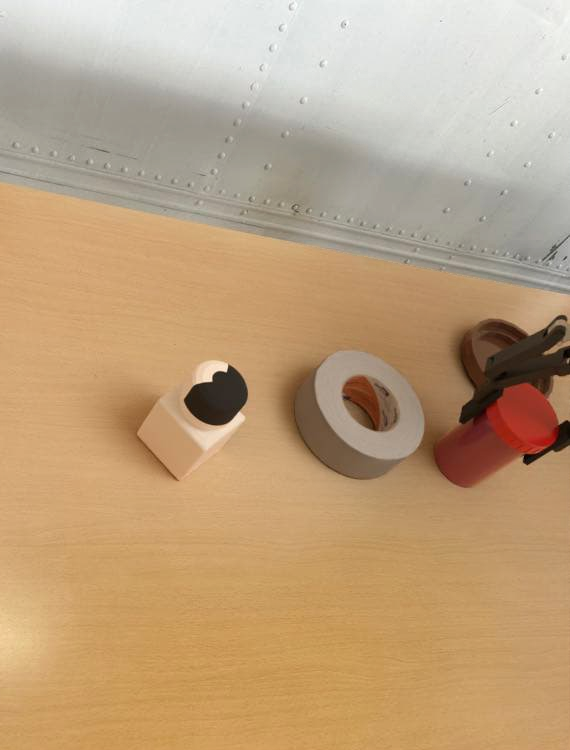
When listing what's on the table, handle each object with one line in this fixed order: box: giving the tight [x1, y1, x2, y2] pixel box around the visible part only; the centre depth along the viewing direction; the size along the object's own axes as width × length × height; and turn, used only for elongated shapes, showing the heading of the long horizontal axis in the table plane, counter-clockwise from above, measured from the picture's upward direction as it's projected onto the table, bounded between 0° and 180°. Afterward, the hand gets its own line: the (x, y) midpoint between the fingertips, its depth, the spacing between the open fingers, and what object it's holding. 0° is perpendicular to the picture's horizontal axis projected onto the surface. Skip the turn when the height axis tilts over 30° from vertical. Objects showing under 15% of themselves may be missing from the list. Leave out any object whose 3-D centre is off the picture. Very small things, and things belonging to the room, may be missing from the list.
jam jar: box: [433, 408, 526, 489], centre depth 97 cm, size 8×8×12 cm
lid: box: [486, 383, 560, 454], centre depth 92 cm, size 9×9×2 cm
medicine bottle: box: [136, 359, 249, 481], centre depth 81 cm, size 7×7×12 cm
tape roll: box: [293, 349, 426, 480], centre depth 95 cm, size 15×15×5 cm
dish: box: [461, 317, 555, 400], centre depth 111 cm, size 14×14×3 cm
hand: (494, 435), depth 96 cm, fingers closed on lid, 9 cm apart
